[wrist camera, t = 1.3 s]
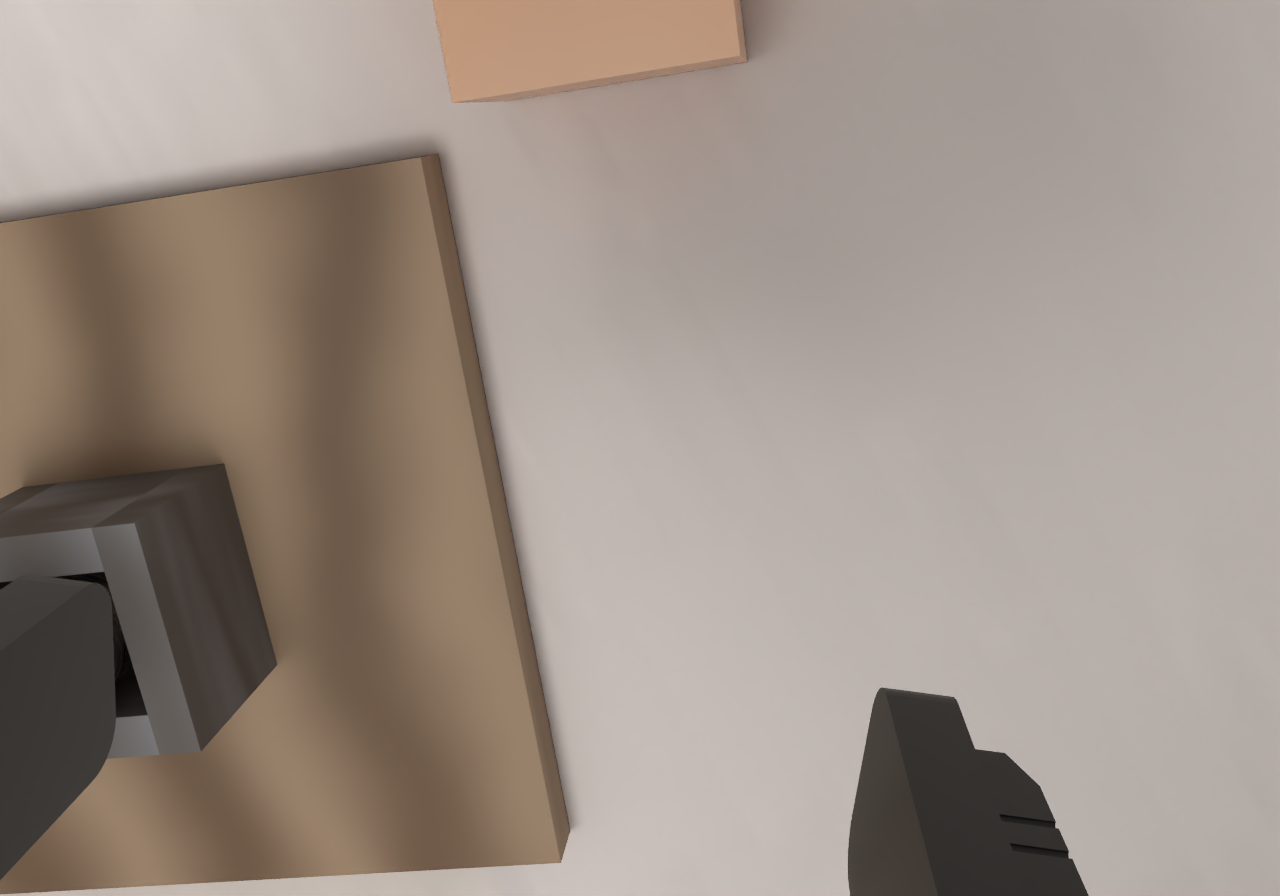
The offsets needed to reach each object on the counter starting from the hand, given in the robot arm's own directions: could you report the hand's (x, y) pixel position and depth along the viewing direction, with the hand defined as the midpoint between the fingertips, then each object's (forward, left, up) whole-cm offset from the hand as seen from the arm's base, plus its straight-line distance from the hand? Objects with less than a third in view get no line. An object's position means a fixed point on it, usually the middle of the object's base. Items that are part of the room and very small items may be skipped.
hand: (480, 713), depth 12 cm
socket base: (+15, +5, -19) cm, 25 cm away
